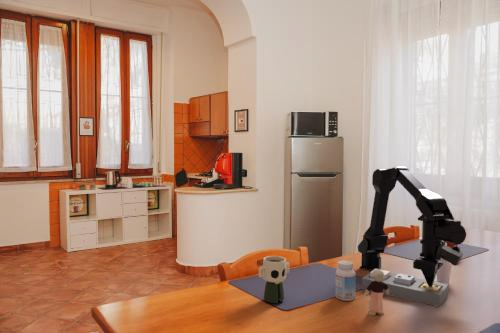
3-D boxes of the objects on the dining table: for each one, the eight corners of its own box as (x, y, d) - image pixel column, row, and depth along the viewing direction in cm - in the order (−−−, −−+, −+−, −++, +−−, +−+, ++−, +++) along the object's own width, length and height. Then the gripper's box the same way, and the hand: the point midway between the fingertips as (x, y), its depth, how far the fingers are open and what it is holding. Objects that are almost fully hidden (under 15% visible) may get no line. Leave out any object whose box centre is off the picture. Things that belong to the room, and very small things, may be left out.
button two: (394, 284, 129) (394, 276, 128) (398, 280, 133) (399, 272, 132) (410, 288, 126) (410, 279, 125) (414, 283, 130) (414, 275, 129)
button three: (419, 294, 124) (420, 286, 124) (424, 290, 128) (424, 282, 128) (437, 298, 121) (437, 290, 121) (440, 294, 125) (441, 285, 125)
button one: (370, 279, 133) (370, 271, 133) (375, 275, 137) (375, 268, 137) (384, 282, 130) (385, 274, 130) (389, 278, 134) (390, 270, 134)
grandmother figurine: (371, 318, 109) (372, 272, 108) (361, 312, 113) (363, 268, 112) (392, 313, 112) (393, 269, 112) (383, 308, 116) (384, 265, 115)
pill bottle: (355, 295, 126) (356, 260, 125) (354, 302, 120) (355, 266, 119) (336, 293, 127) (337, 258, 127) (334, 300, 122) (334, 264, 121)
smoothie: (455, 286, 135) (457, 245, 134) (435, 284, 136) (436, 244, 135) (450, 280, 141) (451, 241, 140) (430, 278, 142) (432, 240, 142)
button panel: (361, 288, 132) (361, 278, 132) (374, 279, 141) (374, 269, 141) (439, 306, 117) (440, 295, 117) (448, 295, 127) (448, 284, 126)
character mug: (264, 308, 115) (264, 264, 114) (252, 299, 121) (253, 258, 121) (295, 301, 120) (296, 259, 119) (282, 293, 126) (283, 253, 126)
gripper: (454, 247, 111) (452, 301, 112) (466, 235, 126) (464, 283, 127) (413, 240, 118) (411, 292, 119) (428, 230, 133) (427, 276, 133)
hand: (430, 286), depth 124 cm, fingers closed, pressing on button three
